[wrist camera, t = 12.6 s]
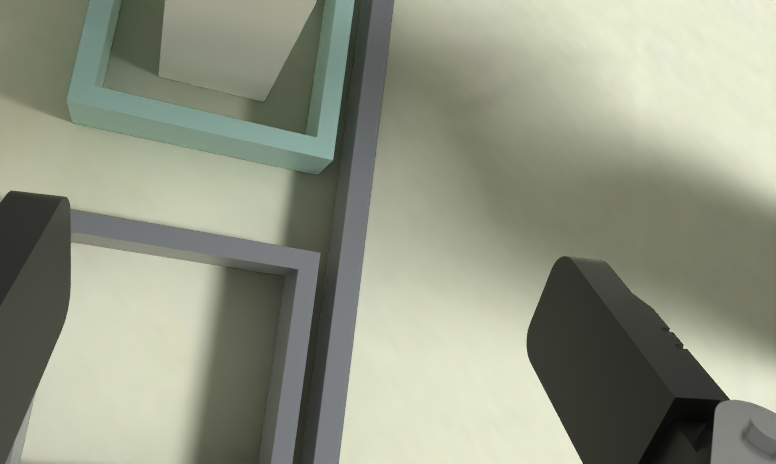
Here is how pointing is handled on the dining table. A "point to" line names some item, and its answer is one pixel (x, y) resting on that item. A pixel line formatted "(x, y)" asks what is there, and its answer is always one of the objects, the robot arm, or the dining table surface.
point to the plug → (230, 42)
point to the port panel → (296, 265)
